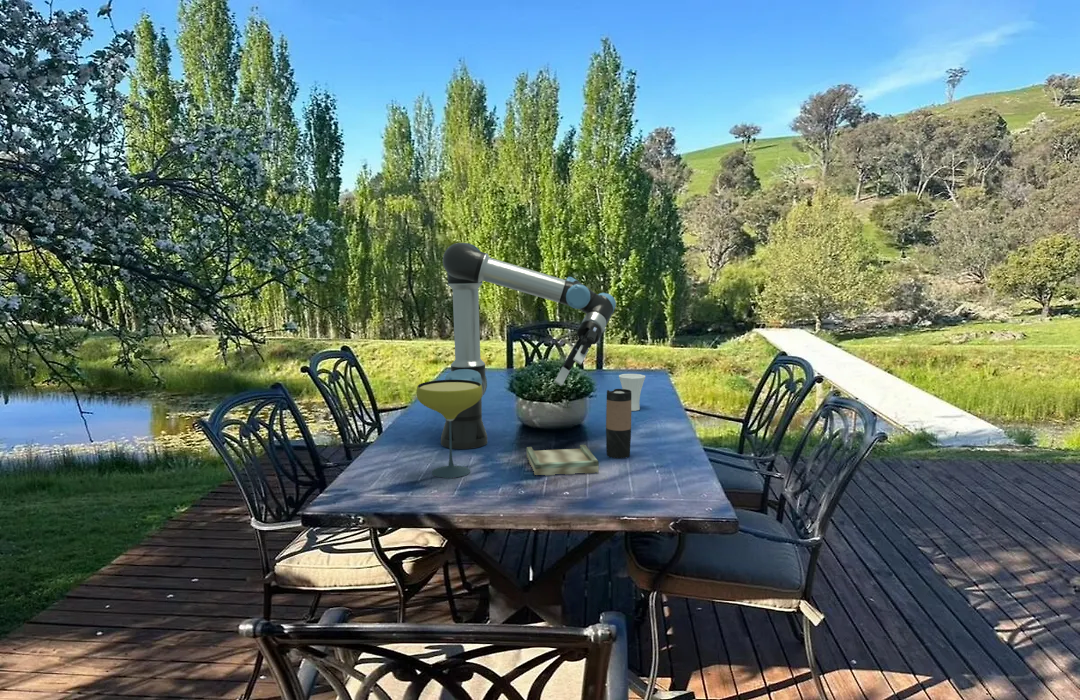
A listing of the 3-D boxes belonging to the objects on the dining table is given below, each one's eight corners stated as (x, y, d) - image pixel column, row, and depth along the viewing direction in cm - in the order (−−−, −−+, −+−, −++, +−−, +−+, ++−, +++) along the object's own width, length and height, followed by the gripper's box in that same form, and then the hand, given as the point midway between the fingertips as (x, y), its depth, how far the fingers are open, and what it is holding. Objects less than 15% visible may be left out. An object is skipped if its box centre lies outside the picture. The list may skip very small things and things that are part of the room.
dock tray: (535, 475, 191) (535, 464, 190) (526, 457, 208) (526, 447, 208) (598, 472, 194) (598, 461, 193) (584, 454, 211) (584, 444, 211)
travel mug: (629, 459, 206) (630, 393, 204) (604, 458, 208) (605, 393, 205) (631, 452, 214) (632, 389, 211) (606, 451, 215) (607, 388, 212)
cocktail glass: (487, 480, 187) (486, 389, 184) (419, 484, 184) (417, 392, 180) (479, 461, 205) (478, 378, 201) (417, 464, 201) (415, 380, 198)
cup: (617, 411, 269) (618, 377, 268) (619, 406, 280) (619, 373, 278) (644, 412, 268) (645, 378, 266) (645, 407, 278) (645, 374, 276)
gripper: (619, 314, 215) (596, 359, 202) (583, 354, 234) (560, 398, 221) (599, 300, 215) (575, 344, 201) (565, 342, 234) (541, 385, 220)
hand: (567, 372), depth 211 cm, fingers open, 13 cm apart
